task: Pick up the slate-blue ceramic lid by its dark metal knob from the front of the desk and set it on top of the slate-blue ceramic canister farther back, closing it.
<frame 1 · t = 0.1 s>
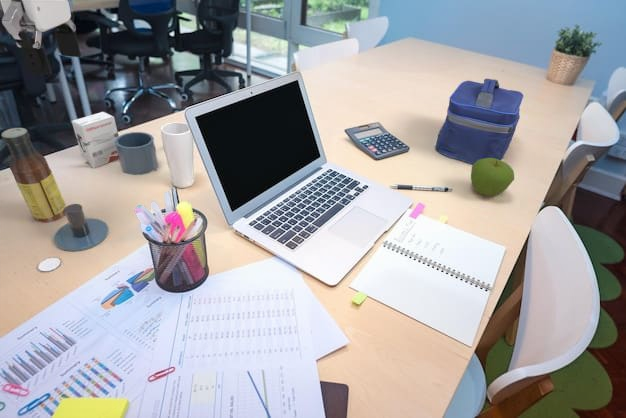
hand: (57, 64, 65), 33 cm above the table, tool pointing down, fingers open, 9 cm apart
drinking glass: (183, 183, 98), on the table
ink box: (103, 160, 103), on the table
apple: (483, 193, 107), on the table
canister lid: (82, 235, 79), point 1 cm above the table
canister: (140, 167, 102), on the table
white flat disc: (50, 267, 72), on the table
sauce bottle: (51, 216, 84), on the table
lunch bag: (470, 146, 130), on the table
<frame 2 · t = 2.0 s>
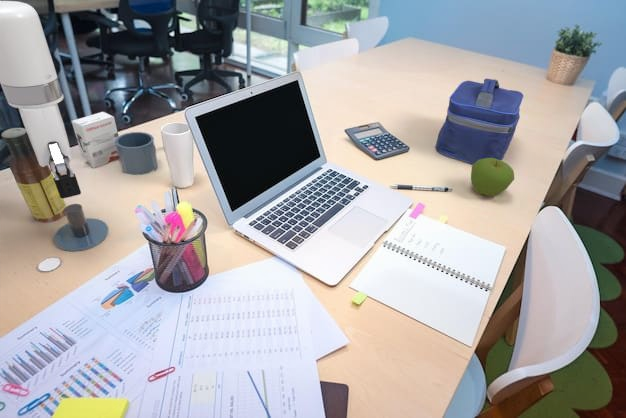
hand: (66, 182, 71), 13 cm above the table, tool pointing down, fingers open, 9 cm apart
nothing on the table moved.
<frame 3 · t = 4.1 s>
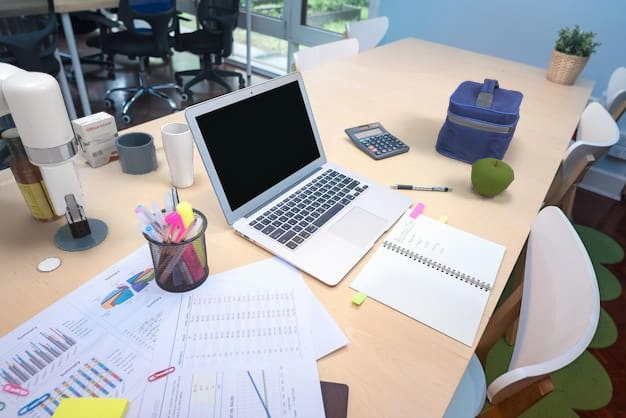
hand: (80, 229, 78), 2 cm above the table, tool pointing down, fingers closed on canister lid, 3 cm apart
canister lid: (82, 235, 79), point 1 cm above the table, touching gripper
everything else where it was.
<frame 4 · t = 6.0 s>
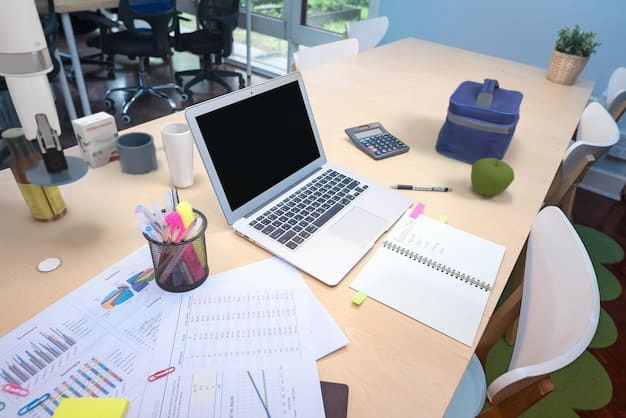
hand: (56, 164, 69), 17 cm above the table, tool pointing down, fingers closed on canister lid, 3 cm apart
canister lid: (58, 171, 70), point 15 cm above the table, touching gripper
everything else where it was.
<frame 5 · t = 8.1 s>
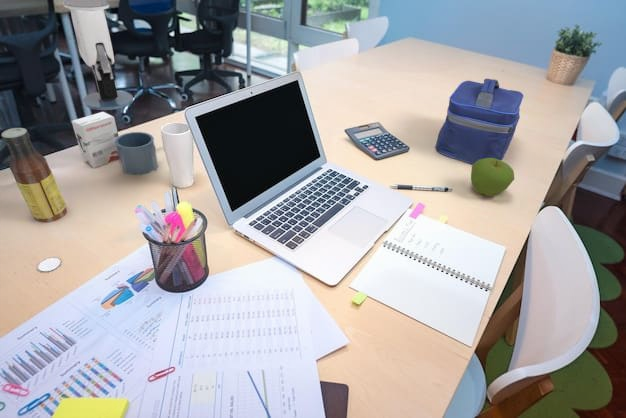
hand: (107, 94, 82), 22 cm above the table, tool pointing down, fingers closed on canister lid, 3 cm apart
canister lid: (109, 101, 83), point 21 cm above the table, touching gripper
everything else where it was.
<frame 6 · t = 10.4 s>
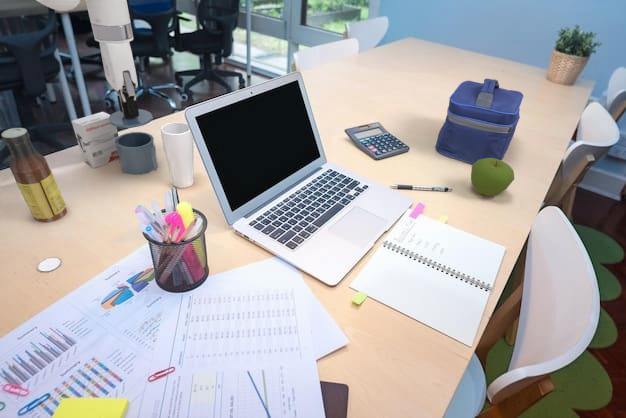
hand: (129, 113, 93), 15 cm above the table, tool pointing down, fingers closed on canister lid, 3 cm apart
canister lid: (131, 119, 94), point 13 cm above the table, touching gripper
everything else where it was.
when the fingers open (10 cm above the table, at t = 11.9 s): canister lid stays where it is, resting on canister.
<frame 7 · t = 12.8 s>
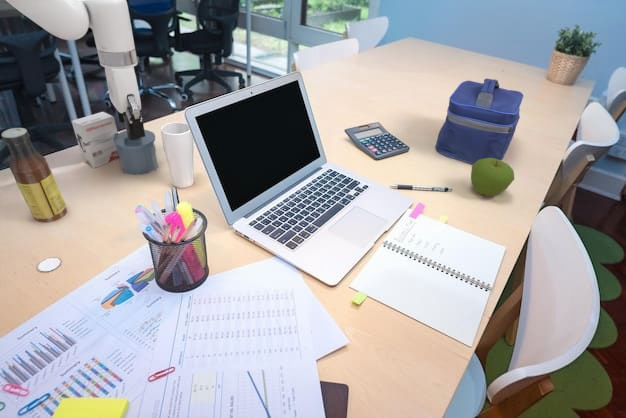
hand: (132, 129, 95), 11 cm above the table, tool pointing down, fingers open, 9 cm apart
canister lid: (135, 139, 97), point 8 cm above the table, touching canister
everything else where it was.
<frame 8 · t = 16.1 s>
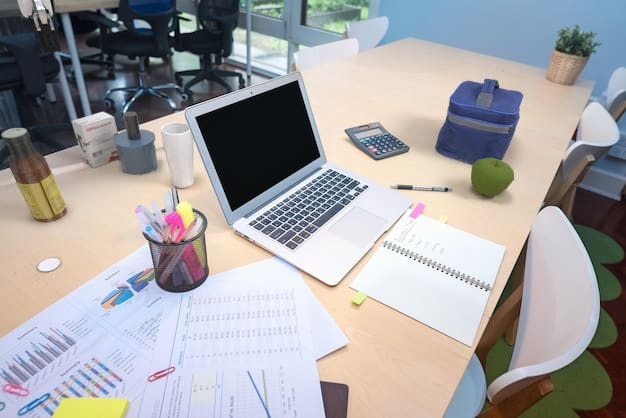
hand: (48, 45, 80), 30 cm above the table, tool pointing down, fingers open, 9 cm apart
nothing on the table moved.
at the end: canister lid 0.1 cm off-centre on the canister, point 8.0 cm above the canister's base; canister lid tilted 0° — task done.
